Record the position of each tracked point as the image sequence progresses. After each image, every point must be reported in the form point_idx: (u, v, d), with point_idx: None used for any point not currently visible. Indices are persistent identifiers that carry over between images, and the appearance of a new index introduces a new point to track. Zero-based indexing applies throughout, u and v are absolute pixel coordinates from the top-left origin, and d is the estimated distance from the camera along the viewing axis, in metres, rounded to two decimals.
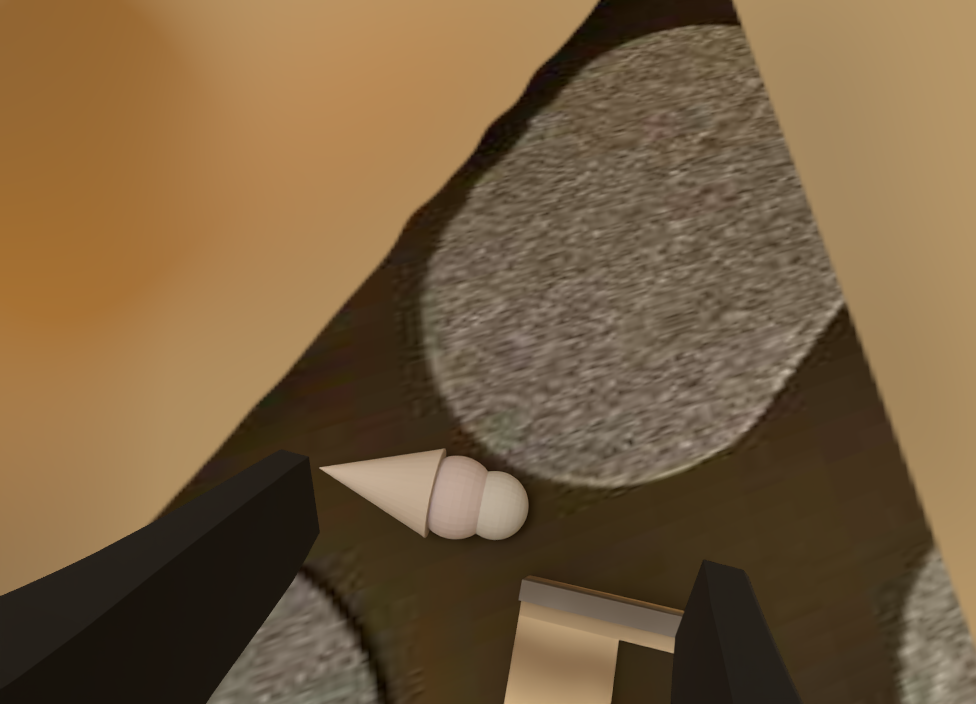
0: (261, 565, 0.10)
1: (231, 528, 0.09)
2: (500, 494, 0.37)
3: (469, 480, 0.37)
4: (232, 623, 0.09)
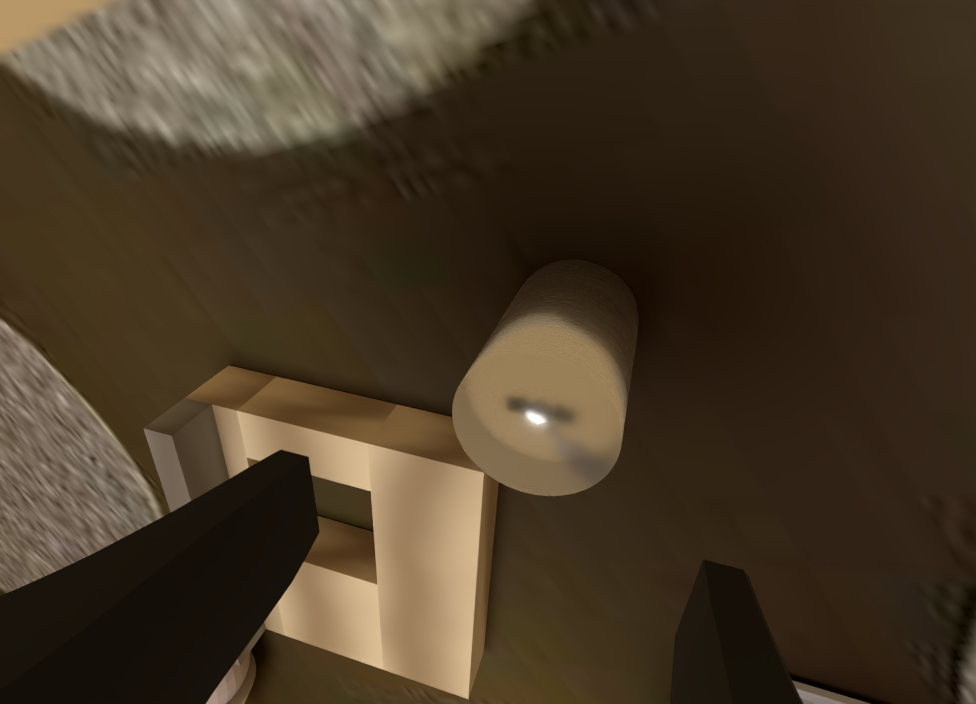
0: (261, 565, 0.10)
1: (231, 528, 0.09)
2: None
3: None
4: (232, 623, 0.09)
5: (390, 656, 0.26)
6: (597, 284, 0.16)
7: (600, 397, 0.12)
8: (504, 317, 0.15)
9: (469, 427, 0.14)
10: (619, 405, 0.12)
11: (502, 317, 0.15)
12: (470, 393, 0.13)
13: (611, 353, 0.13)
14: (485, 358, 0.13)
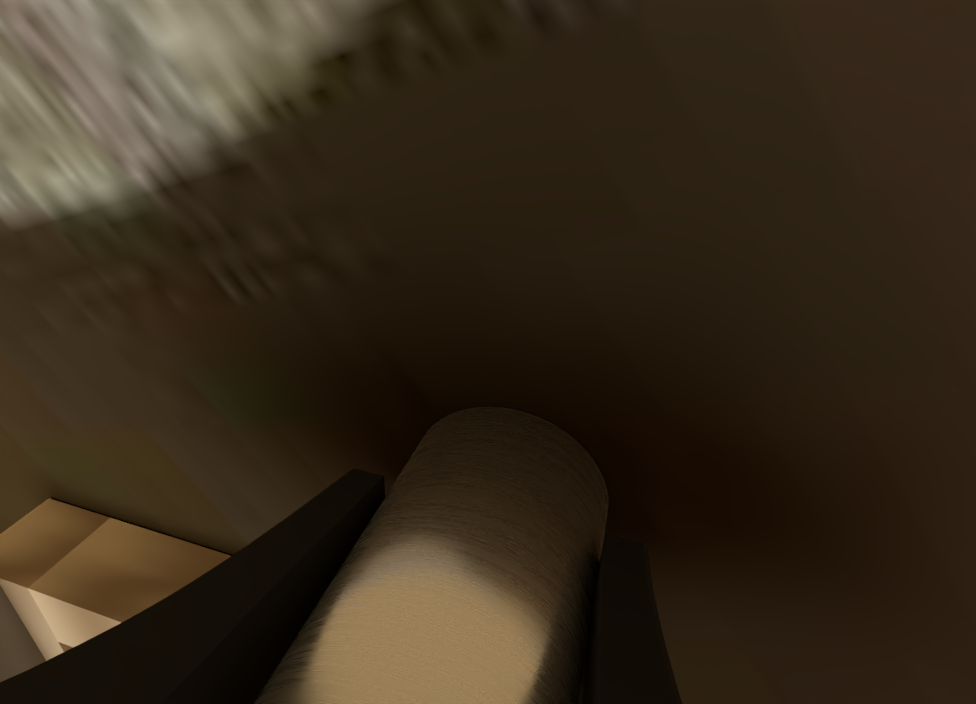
0: None
1: (318, 555, 0.08)
2: None
3: None
4: None
5: None
6: (529, 474, 0.09)
7: None
8: (359, 544, 0.08)
9: None
10: None
11: (362, 534, 0.09)
12: None
13: (534, 678, 0.07)
14: None
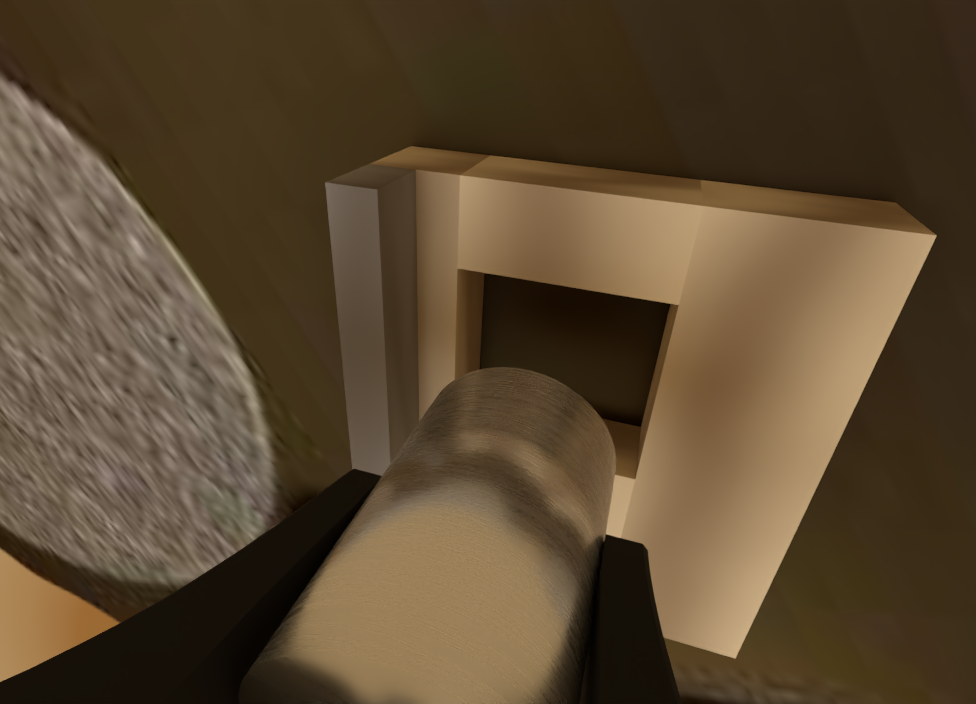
0: None
1: (318, 555, 0.08)
2: None
3: None
4: None
5: None
6: (560, 438, 0.09)
7: None
8: (389, 482, 0.08)
9: None
10: None
11: (389, 473, 0.09)
12: (273, 687, 0.06)
13: (564, 627, 0.07)
14: (306, 636, 0.06)
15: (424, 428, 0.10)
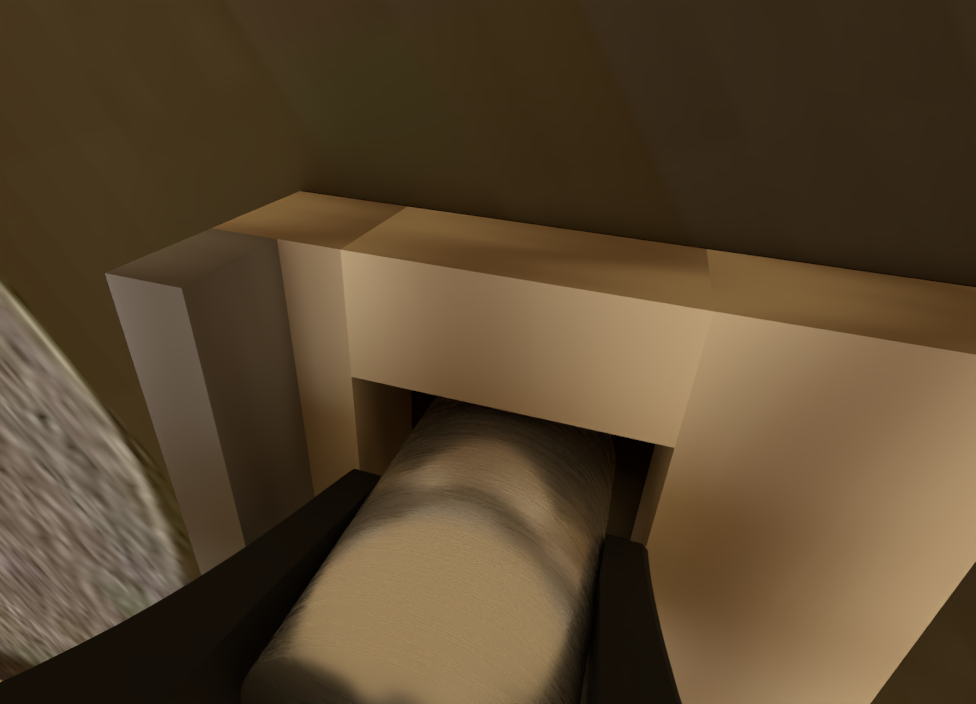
0: None
1: (318, 554, 0.08)
2: None
3: None
4: None
5: None
6: (559, 437, 0.09)
7: None
8: (390, 481, 0.08)
9: None
10: None
11: (389, 472, 0.09)
12: (274, 685, 0.06)
13: (566, 625, 0.07)
14: (309, 635, 0.06)
15: (424, 427, 0.10)
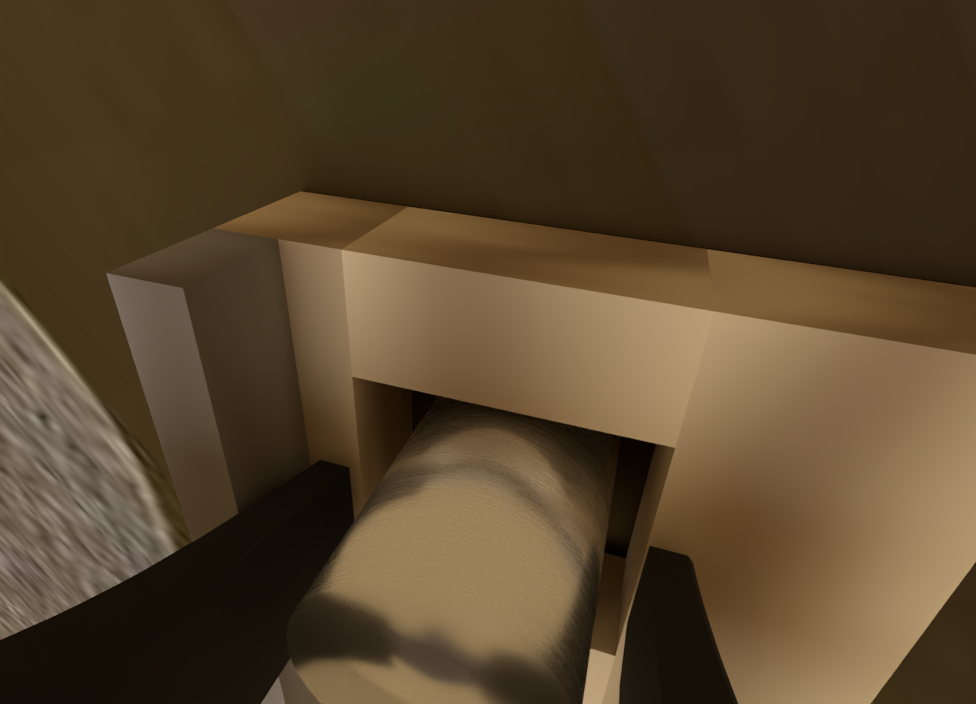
0: (304, 579, 0.09)
1: (278, 542, 0.08)
2: None
3: None
4: (276, 638, 0.09)
5: None
6: None
7: (550, 692, 0.06)
8: (414, 446, 0.09)
9: (315, 661, 0.08)
10: (580, 690, 0.07)
11: (413, 439, 0.10)
12: (320, 620, 0.07)
13: (578, 569, 0.08)
14: (352, 572, 0.07)
15: (444, 400, 0.10)
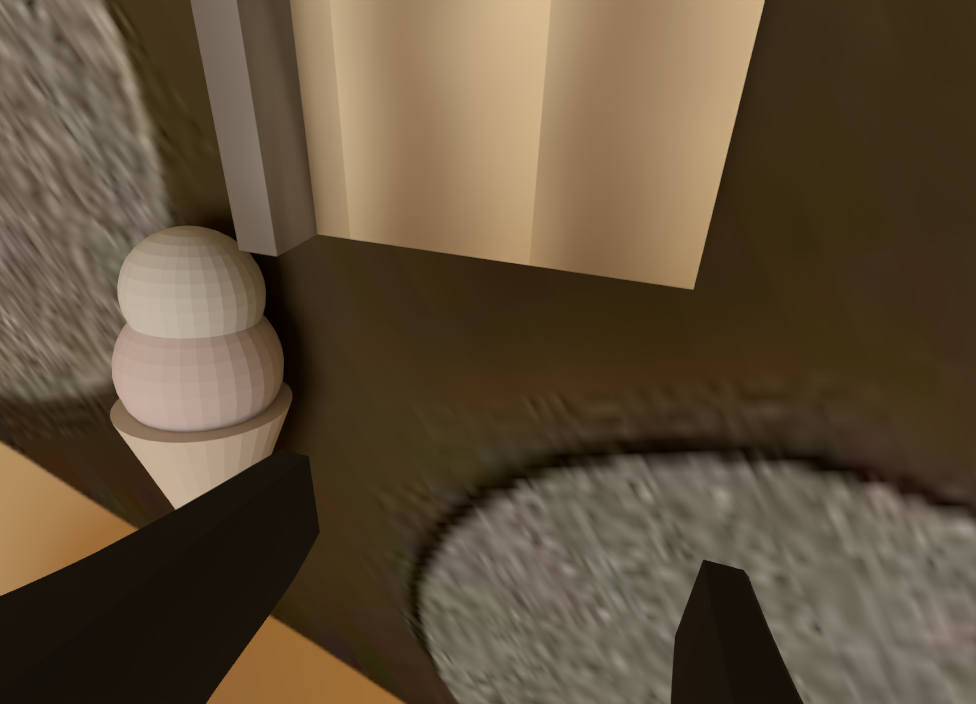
0: (261, 565, 0.10)
1: (231, 528, 0.09)
2: (126, 299, 0.18)
3: (117, 362, 0.18)
4: (232, 623, 0.09)
5: (548, 220, 0.15)
6: None
7: None
8: None
9: None
10: None
11: None
12: None
13: None
14: None
15: None
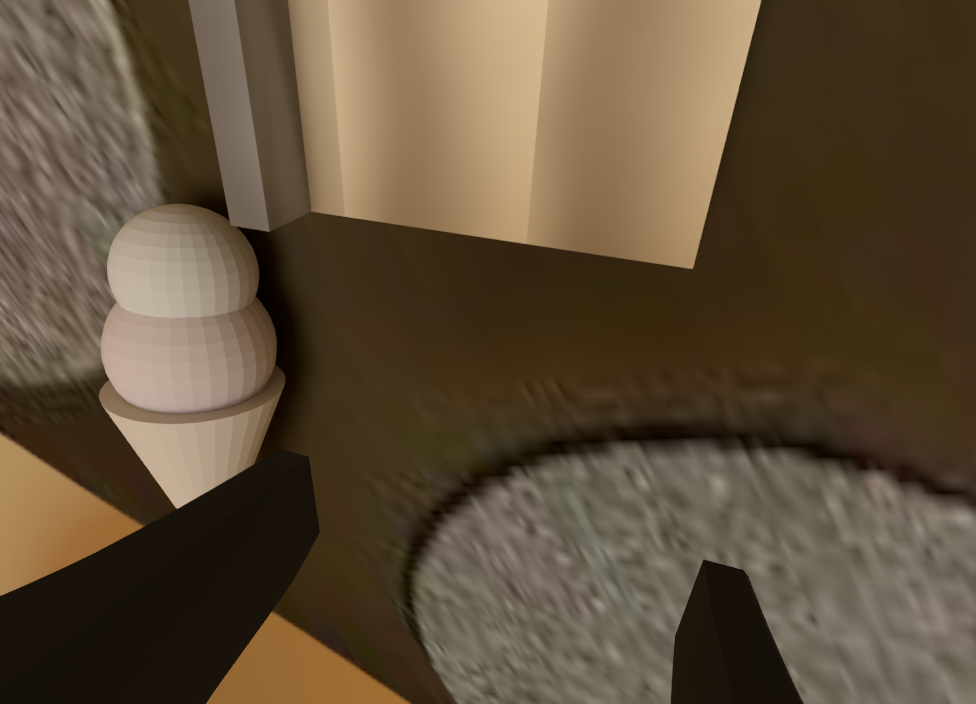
0: (261, 565, 0.10)
1: (231, 528, 0.09)
2: (115, 276, 0.17)
3: (107, 341, 0.18)
4: (232, 623, 0.09)
5: (546, 197, 0.14)
6: None
7: None
8: None
9: None
10: None
11: None
12: None
13: None
14: None
15: None
